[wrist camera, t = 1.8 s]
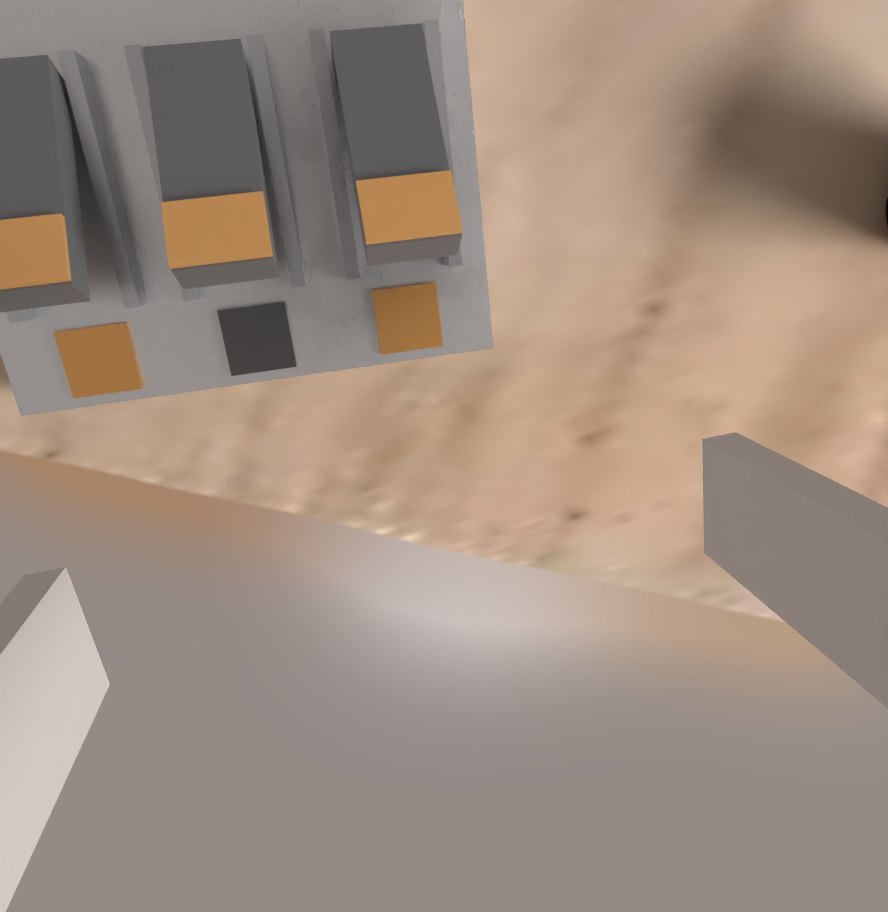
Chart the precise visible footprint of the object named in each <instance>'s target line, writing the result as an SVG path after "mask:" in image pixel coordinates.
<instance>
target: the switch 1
mask: <svg viewBox="0 0 888 912" xmlns="http://www.w3.org/2000/svg"><path fill="white" fill-rule="evenodd" d="M87 301H90V293H89V284H88V274H87V265H86V256H85V247H84V237H83V228H82V219H81V210H80V200H79V191H78V182H77V173H76V163H75V154H74V145H73V136H72V126H71V117H70V108H69V99H68V91H67V88H66V84H65V81H64V79H63V78H62V76H61V75H60V73H59V72H58V70H57V68H56V67H55V65H54V64H53V62H52V61H51V59H50V57H49V56H48V55H39V56H27V57H15V58H3V59H0V312H8V311H16V310H24V309H32V308H40V307H48V306H56V305H64V304H72V303H80V302H87Z"/></svg>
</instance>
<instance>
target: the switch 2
mask: <svg viewBox="0 0 888 912" xmlns="http://www.w3.org/2000/svg"><path fill="white" fill-rule="evenodd" d="M143 51H144V59H145V67H146V75H147V83H148V91H149V98H150V106H151V114H152V122H153V130H154V138H155V146H156V154H157V161H158V169H159V177H160V185H161V193H162V201H163V202H161V209H162V217H163V225H164V233H165V240H166V248H167V256H168V264H169V266H170V268H171V271H172V273H173V274H174V276H175V277H176V279H177V280H178V282H179V283H180V284H181V286H182V287H183V289H190V288H198V287H206V286H214V285H222V284H230V283H238V282H246V281H254V280H262V279H270V278H278V277H280V276H279V269H278V263H277V256H276V249H275V243H274V236H273V229H272V223H271V216H270V210H269V203H268V196H267V190H266V183H265V176H264V170H263V163H262V157H261V150H260V143H259V137H258V130H257V123H256V117H255V110H254V103H253V97H252V90H251V84H250V77H249V70H248V66H247V62H246V58H245V54H244V50H243V46H242V43H241V39H229V40H217V41H205V42H194V43H182V44H170V45H158V46H146V47H143Z"/></svg>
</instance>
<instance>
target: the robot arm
mask: <svg viewBox="0 0 888 912" xmlns="http://www.w3.org/2000/svg"><path fill="white" fill-rule="evenodd" d="M702 440H703V502H704V553H705V554H706V555H707V556H709V557H710V558H711V559H712V560H713V561H715V562H716V563H717V564H718V565H719V566H720V567H722V568H723V569H724V570H725V571H726V572H727V573H729V574H730V575H731V576H732V577H733V578H735V579H736V580H737V581H738V582H739V583H740V584H742V585H743V586H744V587H745V588H746V589H748V590H749V591H750V592H751V593H752V594H753V595H755V596H756V597H757V598H758V599H759V600H760V601H762V602H763V603H764V604H765V605H766V606H768V607H769V608H770V609H771V610H772V611H773V612H775V613H776V614H777V615H778V616H779V617H781V618H782V619H783V620H784V621H785V622H786V623H788V624H789V625H790V626H791V627H792V628H794V629H795V630H796V631H797V632H798V633H799V634H801V635H802V636H803V637H804V638H805V639H806V640H808V641H809V642H810V643H811V644H813V645H814V646H815V647H816V648H817V649H818V650H819V651H821V652H822V653H823V654H824V655H825V656H827V657H828V658H829V659H830V660H831V661H832V662H834V663H835V664H836V665H837V666H838V667H839V668H841V669H842V670H843V671H844V672H845V673H847V674H848V675H849V676H850V677H851V678H852V679H854V680H855V681H856V682H857V683H858V684H859V685H861V686H862V687H863V688H864V689H865V690H867V691H868V692H869V693H870V694H871V695H872V696H874V697H875V698H876V699H877V700H878V701H880V702H881V703H882V704H883V705H884V706H886V707H887V708H888V508H887V507H885V506H883V505H881V504H879V503H877V502H875V501H873V500H871V499H869V498H867V497H865V496H863V495H861V494H859V493H857V492H855V491H853V490H851V489H849V488H847V487H845V486H843V485H841V484H839V483H837V482H835V481H833V480H831V479H829V478H827V477H825V476H823V475H821V474H819V473H817V472H815V471H813V470H811V469H809V468H807V467H805V466H803V465H801V464H799V463H797V462H795V461H793V460H790V459H788V458H786V457H784V456H782V455H780V454H778V453H776V452H774V451H772V450H770V449H768V448H766V447H764V446H762V445H760V444H758V443H756V442H754V441H752V440H750V439H748V438H746V437H744V436H742V435H740V434H738V433H736V432H735V433H730V434H725V435H720V436H715V437H710V438H705V439H702ZM109 685H110V684H109V681H108V679H107V676H106V673H105V671H104V668H103V665H102V663H101V660H100V657H99V654H98V652H97V649H96V647H95V644H94V641H93V639H92V636H91V633H90V630H89V628H88V625H87V622H86V620H85V617H84V614H83V612H82V609H81V606H80V604H79V601H78V598H77V596H76V593H75V590H74V588H73V585H72V582H71V580H70V577H69V574H68V572H67V569H66V567H63V568H58V569H53V570H48V571H43V572H38V573H33V574H28V575H24V576H23V577H22V579H21V580H20V581H19V582H18V583H17V584H16V586H15V587H14V588H13V589H12V590H11V591H10V593H9V594H8V595H7V596H6V597H5V599H4V600H3V601H2V602H1V603H0V912H6V910H7V907H8V905H9V903H10V901H11V899H12V897H13V894H14V892H15V890H16V888H17V886H18V883H19V881H20V879H21V877H22V875H23V873H24V870H25V868H26V866H27V864H28V862H29V859H30V857H31V855H32V853H33V851H34V849H35V846H36V844H37V842H38V840H39V838H40V835H41V833H42V831H43V829H44V827H45V824H46V822H47V820H48V818H49V816H50V814H51V811H52V809H53V807H54V805H55V803H56V800H57V798H58V796H59V794H60V792H61V790H62V787H63V785H64V783H65V781H66V779H67V776H68V774H69V772H70V770H71V768H72V766H73V763H74V761H75V759H76V757H77V754H78V752H79V750H80V748H81V746H82V743H83V741H84V739H85V737H86V735H87V733H88V731H89V728H90V726H91V724H92V722H93V720H94V717H95V715H96V713H97V711H98V709H99V706H100V704H101V702H102V700H103V698H104V695H105V693H106V691H107V689H108V687H109Z"/></svg>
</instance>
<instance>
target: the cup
mask: <svg viewBox="0 0 888 912" xmlns="http://www.w3.org/2000/svg"><path fill="white" fill-rule="evenodd" d="M886 218H887V224H888V199H887V203H886Z"/></svg>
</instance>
